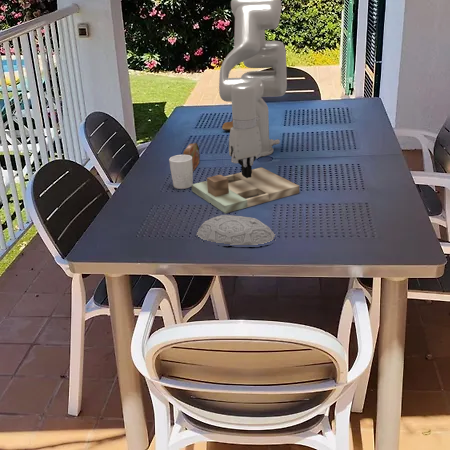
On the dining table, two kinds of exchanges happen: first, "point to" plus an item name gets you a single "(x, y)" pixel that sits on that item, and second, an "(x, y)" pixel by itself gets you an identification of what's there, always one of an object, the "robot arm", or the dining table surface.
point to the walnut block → (217, 185)
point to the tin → (193, 154)
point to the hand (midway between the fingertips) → (247, 176)
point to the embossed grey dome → (235, 230)
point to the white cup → (181, 171)
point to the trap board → (248, 190)
